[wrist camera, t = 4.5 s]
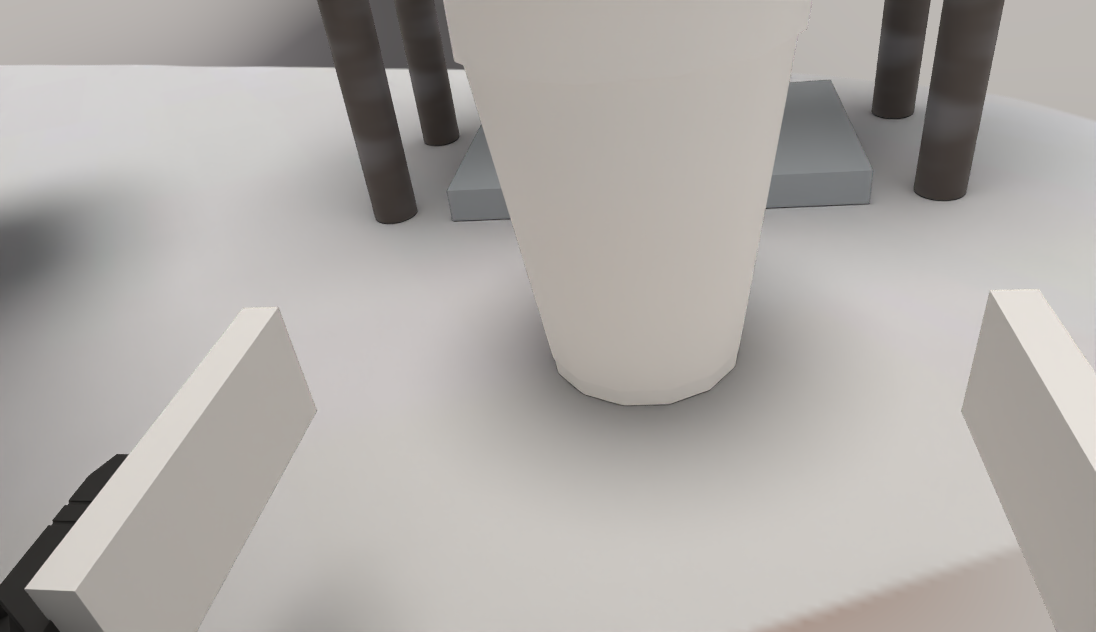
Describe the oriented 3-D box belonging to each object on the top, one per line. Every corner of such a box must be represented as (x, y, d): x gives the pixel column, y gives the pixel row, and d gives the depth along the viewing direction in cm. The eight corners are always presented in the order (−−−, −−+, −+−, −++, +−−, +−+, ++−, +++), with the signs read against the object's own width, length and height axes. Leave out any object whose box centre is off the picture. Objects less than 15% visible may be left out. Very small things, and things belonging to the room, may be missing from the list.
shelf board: (452, 220, 36) (446, 190, 35) (496, 128, 45) (492, 102, 44) (869, 203, 33) (873, 170, 32) (828, 107, 42) (830, 79, 41)
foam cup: (556, 263, 32) (511, -94, 25) (795, 279, 29) (824, -120, 22) (466, 420, 25) (365, -18, 18) (773, 462, 22) (804, -43, 15)
